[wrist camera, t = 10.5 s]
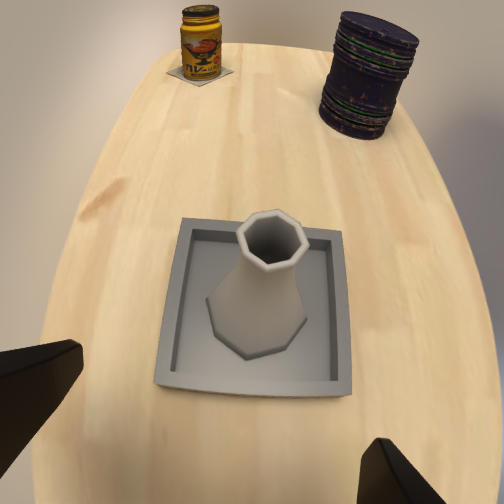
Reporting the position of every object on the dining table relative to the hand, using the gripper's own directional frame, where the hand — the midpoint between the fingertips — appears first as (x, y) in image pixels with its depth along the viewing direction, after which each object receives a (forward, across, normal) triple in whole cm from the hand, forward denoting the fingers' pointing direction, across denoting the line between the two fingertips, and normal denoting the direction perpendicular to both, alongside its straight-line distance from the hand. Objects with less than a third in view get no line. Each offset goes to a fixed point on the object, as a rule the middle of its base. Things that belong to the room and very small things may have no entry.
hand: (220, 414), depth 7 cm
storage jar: (+37, -5, -17) cm, 41 cm away
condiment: (+40, +20, -20) cm, 49 cm away
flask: (+15, 0, +4) cm, 15 cm away
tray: (+15, 0, +4) cm, 16 cm away
